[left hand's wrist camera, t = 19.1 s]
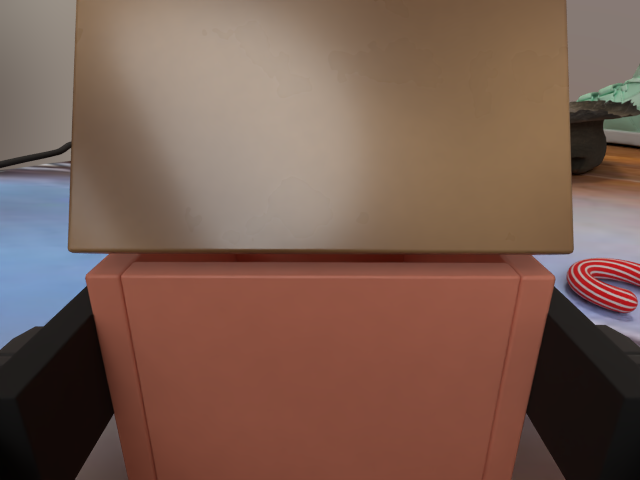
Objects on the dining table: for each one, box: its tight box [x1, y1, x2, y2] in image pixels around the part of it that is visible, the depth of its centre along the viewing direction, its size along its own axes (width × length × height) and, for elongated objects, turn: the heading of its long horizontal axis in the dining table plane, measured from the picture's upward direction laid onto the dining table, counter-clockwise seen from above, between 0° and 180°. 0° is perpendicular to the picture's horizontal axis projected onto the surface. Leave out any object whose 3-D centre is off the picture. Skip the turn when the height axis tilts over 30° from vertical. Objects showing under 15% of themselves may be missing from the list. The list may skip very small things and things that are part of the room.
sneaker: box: [576, 65, 640, 147], centre depth 79 cm, size 14×35×20 cm, turn 42°
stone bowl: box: [569, 100, 640, 174], centre depth 63 cm, size 25×25×9 cm
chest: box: [85, 254, 555, 480], centre depth 17 cm, size 13×10×9 cm
